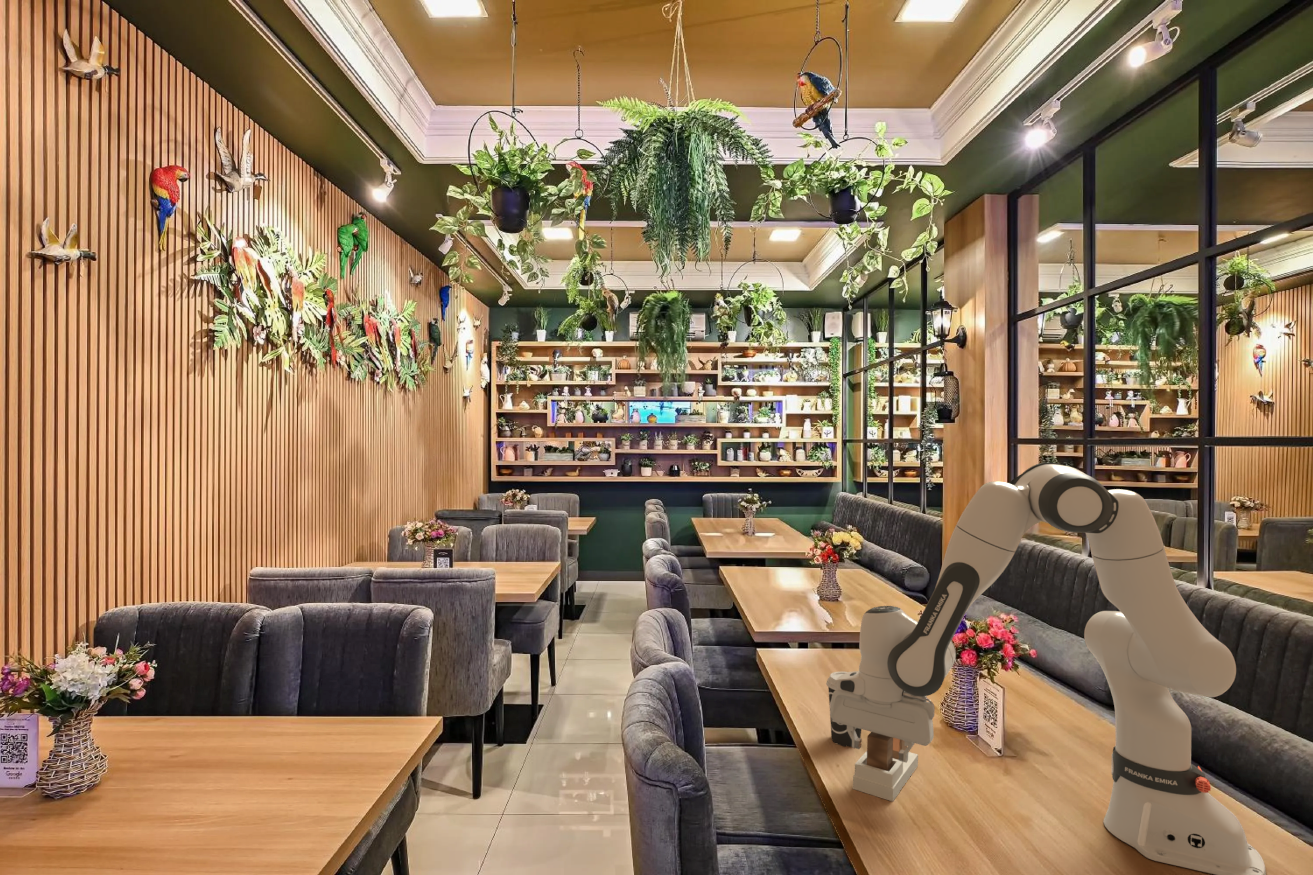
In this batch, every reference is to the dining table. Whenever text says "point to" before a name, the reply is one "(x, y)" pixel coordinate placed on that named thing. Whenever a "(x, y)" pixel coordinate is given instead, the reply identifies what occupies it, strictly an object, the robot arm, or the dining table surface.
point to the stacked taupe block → (880, 751)
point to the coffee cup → (837, 729)
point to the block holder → (885, 774)
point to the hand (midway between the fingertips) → (879, 753)
